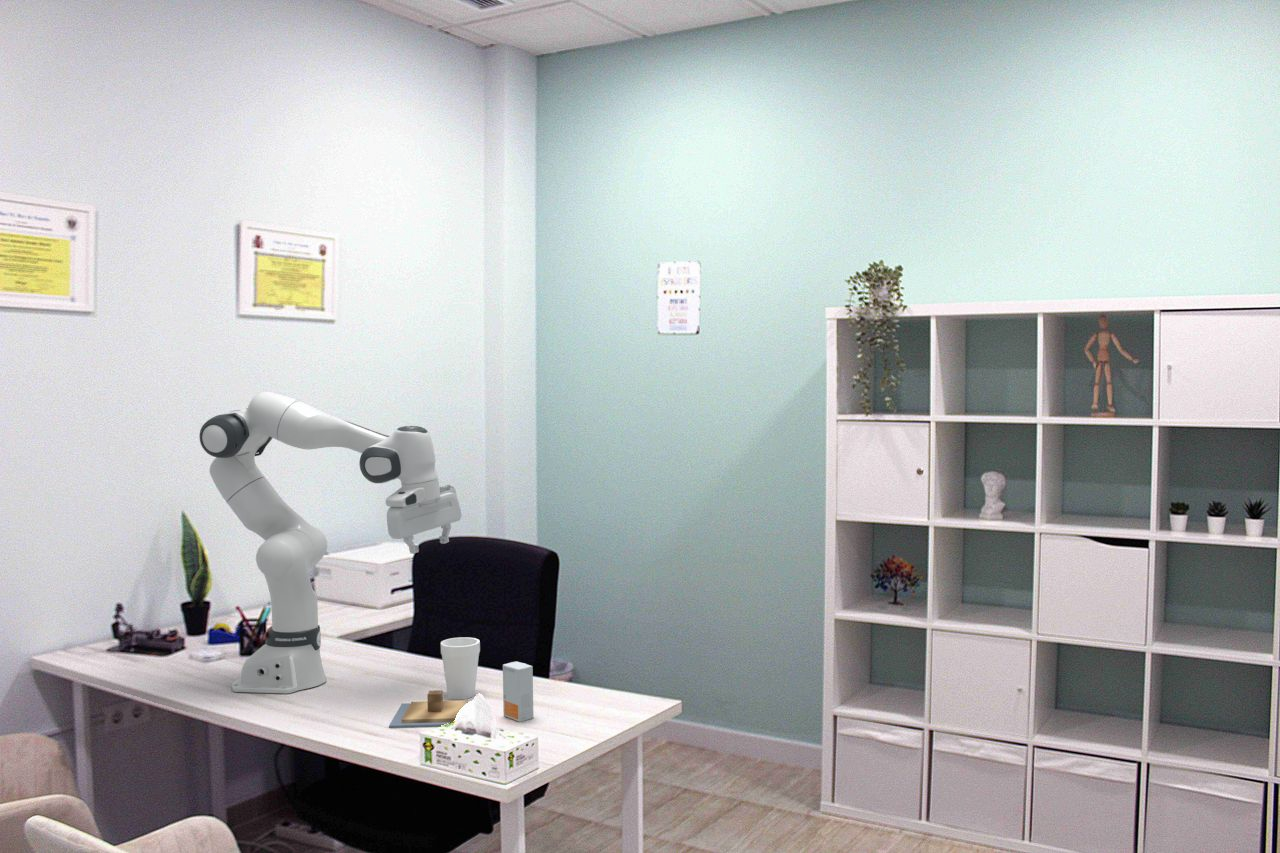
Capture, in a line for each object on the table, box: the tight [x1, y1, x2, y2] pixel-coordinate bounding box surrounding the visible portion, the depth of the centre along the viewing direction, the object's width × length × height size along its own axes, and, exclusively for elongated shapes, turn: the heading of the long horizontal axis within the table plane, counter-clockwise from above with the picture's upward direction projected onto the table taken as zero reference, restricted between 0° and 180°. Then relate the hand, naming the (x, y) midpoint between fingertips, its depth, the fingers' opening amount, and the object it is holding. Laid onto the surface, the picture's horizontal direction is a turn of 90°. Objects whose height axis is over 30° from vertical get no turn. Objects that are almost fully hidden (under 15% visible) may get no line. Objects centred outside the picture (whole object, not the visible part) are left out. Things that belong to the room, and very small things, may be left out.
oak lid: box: [402, 689, 469, 723], centre depth 244 cm, size 13×13×5 cm
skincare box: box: [502, 661, 534, 723], centre depth 241 cm, size 6×4×12 cm
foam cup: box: [440, 636, 481, 700], centre depth 259 cm, size 10×9×13 cm
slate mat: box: [388, 702, 450, 729], centre depth 244 cm, size 18×16×1 cm
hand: (429, 547), depth 261 cm, fingers open, 8 cm apart
